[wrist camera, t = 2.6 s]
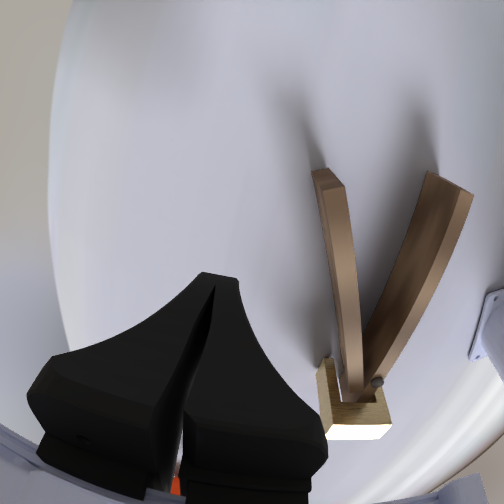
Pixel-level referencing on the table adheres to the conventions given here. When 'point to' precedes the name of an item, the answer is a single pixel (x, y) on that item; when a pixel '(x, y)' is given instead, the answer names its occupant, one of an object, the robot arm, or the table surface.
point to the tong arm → (341, 271)
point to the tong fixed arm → (411, 280)
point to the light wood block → (349, 409)
